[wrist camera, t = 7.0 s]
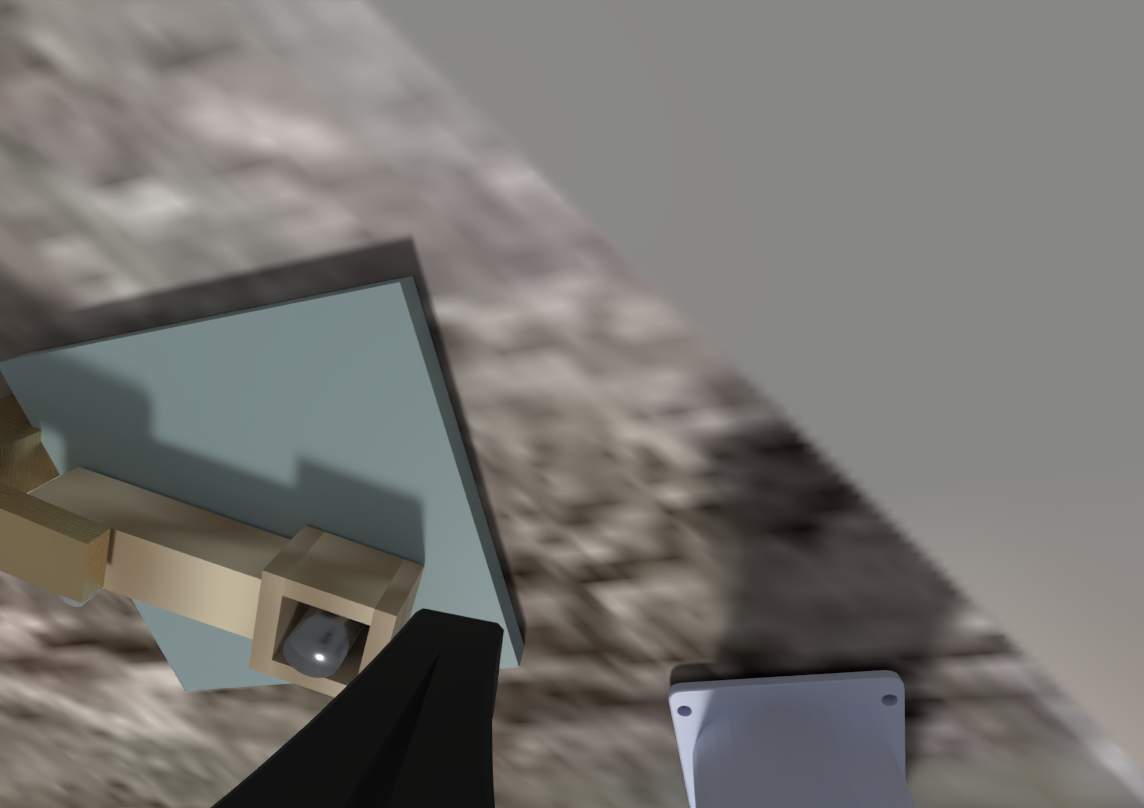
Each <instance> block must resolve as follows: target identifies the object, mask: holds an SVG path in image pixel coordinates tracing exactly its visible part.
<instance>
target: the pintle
mask: <svg viewBox="0 0 1144 808" xmlns="http://www.w3.org/2000/svg"><path fill="white" fill-rule="evenodd" d="M364 625H365V624H364V623H361V622H358V621H355V620H352V619H349V618H346V617H343V616H341V615H338V614H335V613H332V612H329V611H326V610H323V609H320V608H317V607H314V606H311V607H310V608H309V610H308V611H307V612H306V614H305V615H304V616H303V618H302V619H301V620H300V622H299V623H298V624H297V626H296V627H295V628H294V630H293V631H292V632H291V634H290V635H289V636H288V638H287V639H286V640H285V642H284V645H283V653H284V656H285V658H286V660H287V662H288V663H289V664H290V665H291V666H292V667H293V668H294V669H295V670H297V671H298V672H300V673H302V674H304V675H306V676H309V677H314V678H325V677H329V676H331V675H333V674H334V673H335V672H336V671H337V670H338V668H339V667H340V665H341V663H342V662H343V660H344V658H345V657H346V655H347V653H348V652H349V650H350V648H351V647H352V645H353V643H354V642H355V640H356V638H357V637H358V635H359V633H360V632H361V630H362V629H363V627H364Z"/></svg>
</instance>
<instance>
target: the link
mask: <svg viewBox="0 0 1144 808" xmlns="http://www.w3.org/2000/svg"><path fill="white" fill-rule="evenodd" d="M29 495H31V496H33V497H36V498H38V499H41V500H43V501H46V502H48V503H50V504H53V505H55V506H58V507H60V508H63V509H65V510H67V511H70V512H72V513H75V514H77V515H80V516H82V517H84V518H87V519H89V520H92V521H94V522H96V523H99V524H101V525H104V526H106V527H109V528H110V537H109V545H108V554H107V562H106V571H105V579H104V586H103V587H102V588H103V589H106V590H109V591H112V592H115V593H118V594H121V595H124V596H127V597H129V598H132V599H135V600H138V601H141V602H144V603H147V604H150V605H153V606H156V607H159V608H162V609H165V610H168V611H171V612H174V613H176V614H179V615H182V616H185V617H188V618H191V619H194V620H197V621H200V622H203V623H206V624H209V625H212V626H215V627H218V628H221V629H223V630H226V631H229V632H232V633H235V634H238V635H241V636H244V637H247V638H250V639H253V642H252V649H251V656H250V663H249V668H250V669H253V670H256V671H259V672H262V673H265V674H268V675H271V676H274V677H277V678H279V679H282V680H285V681H288V682H291V683H294V684H297V685H300V686H303V687H306V688H309V689H312V690H315V691H318V692H321V693H324V694H327V695H330V696H333V697H336V696H337V695H338V694H339V693H340V692H341V691H342V690H343V689H344V688H345V687H346V686H347V685H348V684H349V683H350V682H351V681H352V680H353V679H354V678H355V677H356V676H357V675H358V674H359V673H360V672H361V671H362V670H363V669H364V668H365V667H366V666H367V665H368V664H369V663H370V662H371V661H372V660H373V659H374V658H375V657H376V656H377V655H378V654H379V653H380V652H381V650H382V649H383V648H384V647H385V646H386V645H387V644H388V643H389V642H390V641H391V640H392V639H393V637H394V636H395V635H396V634H397V633H398V632H399V631H400V630H401V629H402V627H403V626H404V625H405V624H406V623H407V622H408V621H409V618H410V615H411V611H412V608H413V604H414V601H415V597H416V593H417V590H418V586H419V583H420V579H421V576H422V572H423V569H424V566H423V565H420V564H417V563H414V562H411V561H408V560H405V559H402V558H399V557H397V556H394V555H391V554H388V553H385V552H382V551H379V550H376V549H373V548H370V547H368V546H365V545H362V544H359V543H356V542H353V541H350V540H347V539H344V538H341V537H339V536H336V535H333V534H330V533H327V532H324V531H321V530H318V529H315V528H312V527H310V526H307V525H304V527H303V528H302V529H301V530H300V531H299V532H298V533H297V534H296V535H295V536H294V537H293V538H292V539H291V540H290V539H287V538H285V537H282V536H279V535H276V534H273V533H270V532H267V531H264V530H261V529H258V528H255V527H253V526H250V525H247V524H244V523H241V522H238V521H235V520H232V519H229V518H226V517H224V516H221V515H218V514H215V513H212V512H209V511H206V510H203V509H200V508H197V507H194V506H192V505H189V504H186V503H183V502H180V501H177V500H174V499H171V498H168V497H165V496H162V495H160V494H157V493H154V492H151V491H148V490H145V489H142V488H139V487H136V486H133V485H131V484H128V483H125V482H122V481H119V480H116V479H113V478H110V477H107V476H104V475H101V474H99V473H96V472H93V471H90V470H87V469H84V468H81V467H77V468H75V469H73V470H71V471H70V472H68V473H66V474H64V475H62V476H60V477H59V478H57V479H55V480H53V481H51V482H49V483H47V484H46V485H44V486H42V487H40V488H38V489H36V490H35V491H33V492H31V493H29ZM311 606H314V607H317V608H320V609H323V610H326V611H329V612H332V613H335V614H338V615H341V616H343V617H346V618H349V619H352V620H355V621H358V622H361V623H364V624H367V625H370V628H367V627H363V629H362V630H361V632H360V633H359V635H358V637H357V638H356V640H355V642H354V643H353V645H352V647H351V648H350V650H349V652H348V653H347V655H346V657H345V658H344V660H343V662H342V663H341V665H340V667H339V668H338V670H337V671H336V672H335V673H334V674H333V675H331V676H329V677H325V678H314V677H309V676H306V675H304V674H302V673H300V672H298V671H297V670H295V669H294V668H293V667H292V666H291V665H290V664H289V663H288V662H287V660H286V658H285V656H284V653H283V645H284V642H285V640H286V639H287V638H288V636H289V635H290V634H291V632H292V631H293V630H294V628H295V627H296V626H297V624H298V623H299V622H300V620H301V619H302V618H303V616H304V615H305V614H306V612H307V611H308V610H309V608H310V607H311Z"/></svg>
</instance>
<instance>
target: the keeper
mask: <svg viewBox="0 0 1144 808" xmlns="http://www.w3.org/2000/svg"><path fill="white" fill-rule="evenodd" d="M41 431H42V430H40V429H38V428H35V427H33V426H32V425H31V423H30V422H29V420H28V418H27V416H26V415H25V413H24V411H23V410H22V408H21V406H20V404H19V403H18V401H17V399H16V397H15V396H14V395H11V396H8V397H6V398H3V399H0V571H2V572H5V573H7V574H10V575H12V576H15V577H17V578H20V579H22V580H25V581H27V582H30V583H32V584H35V585H37V586H40V587H42V588H44V589H47V590H49V591H52V592H54V593H57V594H59V595H62V596H64V597H67V598H69V599H72V600H74V601H77V602H79V603H83V602H84V601H85V600H87V599H88V598H89V597H90V596H92V595H93V594H94V593H95V592H97V591H98V590H99V589H101V588H102V587H103V586H104V579H105V571H106V562H107V554H108V545H109V537H110V528H109V527H106V526H104V525H101V524H99V523H96V522H94V521H92V520H89V519H87V518H84V517H82V516H80V515H77V514H75V513H72V512H70V511H67V510H65V509H63V508H60V507H58V506H55V505H53V504H50V503H48V502H46V501H43V500H41V499H38V498H36V497H33V496H31V495H29V494H26V493H27V492H29V491H31V490H33V489H35V488H37V487H38V486H40V485H42V484H44V483H46V482H48V481H50V480H51V479H53V478H55V477H57V476H59V475H60V474H59V472H58V470H57V468H56V467H55V465H54V463H53V461H52V460H51V458H50V456H49V455H48V453H47V451H46V449H45V448H44V446H43V444H42V442H41Z"/></svg>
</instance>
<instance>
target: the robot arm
mask: <svg viewBox="0 0 1144 808" xmlns="http://www.w3.org/2000/svg"><path fill="white" fill-rule="evenodd" d="M503 635H504V629H503V628H502V627H501V626H500V625H499V623H496V622H491V621H486V620H481V619H475V618H470V617H465V616H460V615H455V614H450V613H445V612H440V611H435V610H430V609H425V608H422V609H420V610H419V611H417V612H415V614H414V615H413V616H412V617H411V618H410V619H409V621H408V622H407V623H406V624H405V625H404V626H403V627H402V629H401V630H400V631H399V632H398V633H397V634H396V635H395V636H394V637H393V639H392V640H391V641H390V642H389V643H388V644H387V645H386V646H385V647H384V648H383V649H382V650H381V652H380V653H379V654H378V655H377V656H376V657H375V658H374V659H373V660H372V661H371V662H370V663H369V664H368V665H367V666H366V667H365V668H364V669H363V670H362V671H361V672H360V673H359V674H358V675H357V676H356V677H355V678H354V679H353V680H352V681H351V682H350V683H349V684H348V685H347V686H346V687H345V688H344V689H343V690H342V691H341V692H340V693H339V694H338V695H337V696H336V697H335V698H334V699H333V700H332V701H331V702H330V703H329V704H328V705H327V706H326V707H325V708H324V709H323V710H322V711H321V712H320V713H319V714H318V715H317V716H315V717H314V718H313V719H312V720H311V721H310V722H309V723H308V724H307V725H306V726H305V727H304V728H302V729H301V730H300V731H299V732H298V733H297V734H296V735H295V736H294V737H292V738H291V739H290V740H289V741H288V742H287V743H286V744H285V745H283V746H282V747H281V748H280V749H279V750H278V751H277V752H276V753H275V754H273V755H272V756H271V757H270V758H269V759H268V760H267V761H266V762H264V763H263V764H262V765H261V766H260V767H259V768H258V769H257V770H255V771H254V772H253V773H252V774H251V775H249V776H248V777H247V778H246V779H245V780H244V781H242V782H241V783H240V784H239V785H238V786H236V787H235V788H234V789H233V790H232V791H230V792H229V793H228V794H227V795H226V796H224V797H223V798H222V799H221V800H219V801H218V802H217V803H216V804H214V805H213V806H212V807H211V808H495V803H494V787H493V764H492V718H493V713H494V706H495V698H496V691H497V683H498V675H499V667H500V659H501V651H502V643H503ZM889 694H890V696H885V695H889ZM669 704H670V709H671V714H672V719H673V724H674V729H675V734H676V739H677V744H678V749H679V754H680V759H681V765H682V770H683V775H684V780H685V785H686V790H687V795H688V800H689V805H690V808H916V805H915V803H914V800H913V798H912V796H911V793H910V791H909V788H908V786H907V783H906V770H905V690H904V684H903V682H902V680H901V678H900V676H899V675H898V674H897V673H896V672H893V671H889V670H879V671H863V672H847V673H831V674H815V675H799V676H782V677H766V678H750V679H734V680H718V681H702V682H685V683H677V684H674V685H673V686H671V687H670V689H669ZM681 706H688V707H681Z"/></svg>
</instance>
